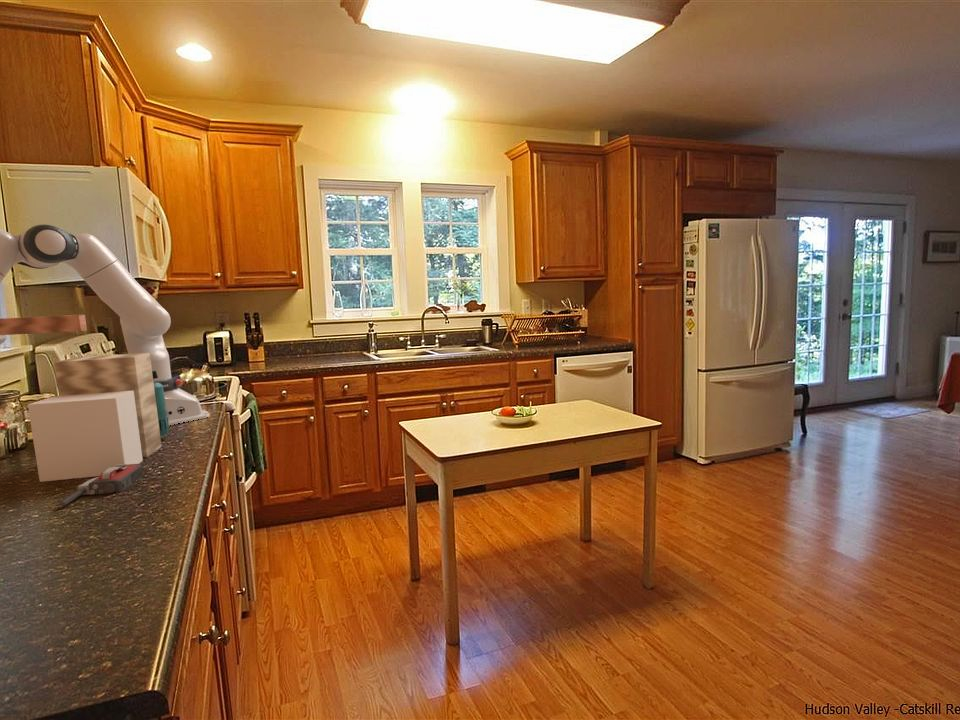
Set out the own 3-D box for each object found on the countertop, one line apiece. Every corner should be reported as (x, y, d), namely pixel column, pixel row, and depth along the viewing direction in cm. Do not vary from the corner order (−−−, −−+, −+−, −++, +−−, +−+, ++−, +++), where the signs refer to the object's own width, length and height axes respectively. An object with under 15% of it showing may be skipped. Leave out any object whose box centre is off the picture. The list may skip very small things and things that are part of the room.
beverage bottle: (162, 442, 159) (153, 372, 156) (139, 443, 159) (130, 373, 156) (175, 436, 165) (166, 369, 163) (152, 437, 165) (144, 370, 163)
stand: (69, 464, 141) (54, 362, 138) (88, 453, 151) (75, 357, 148) (147, 457, 145) (134, 357, 141) (161, 446, 154) (149, 352, 151)
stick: (-29, 336, 136) (-32, 320, 136) (-21, 335, 139) (-23, 319, 139) (81, 331, 141) (78, 315, 140) (86, 330, 144) (84, 314, 143)
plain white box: (39, 481, 129) (27, 404, 126) (63, 468, 138) (52, 396, 136) (125, 473, 132) (115, 398, 129) (142, 460, 142) (133, 390, 139)
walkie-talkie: (107, 477, 130) (56, 511, 111) (104, 459, 130) (53, 490, 110) (148, 474, 132) (104, 507, 112) (145, 456, 131) (101, 485, 111)
